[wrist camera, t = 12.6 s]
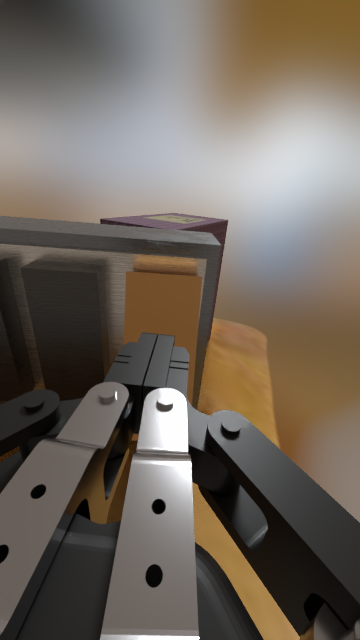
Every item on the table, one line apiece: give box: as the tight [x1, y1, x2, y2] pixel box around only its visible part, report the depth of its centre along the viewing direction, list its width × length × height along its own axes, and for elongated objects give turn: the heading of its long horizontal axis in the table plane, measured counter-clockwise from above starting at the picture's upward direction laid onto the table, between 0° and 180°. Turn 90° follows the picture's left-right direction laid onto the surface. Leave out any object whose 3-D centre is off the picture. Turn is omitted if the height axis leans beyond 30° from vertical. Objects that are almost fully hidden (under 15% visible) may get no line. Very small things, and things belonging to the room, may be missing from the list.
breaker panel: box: [0, 216, 221, 410], centre depth 24 cm, size 22×8×20 cm, turn 91°
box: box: [100, 213, 228, 339], centre depth 37 cm, size 17×9×20 cm, turn 153°
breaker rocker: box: [123, 271, 202, 441], centre depth 19 cm, size 5×3×12 cm, turn 91°
